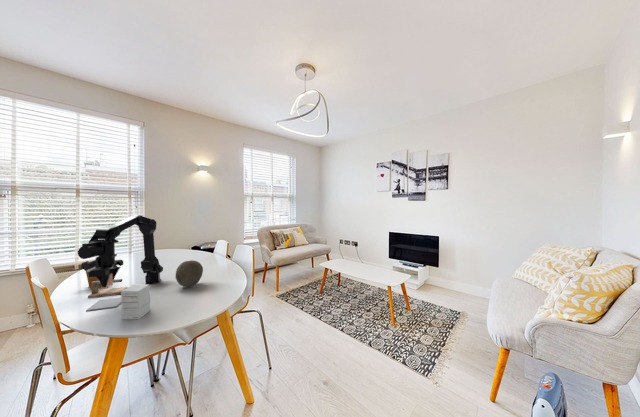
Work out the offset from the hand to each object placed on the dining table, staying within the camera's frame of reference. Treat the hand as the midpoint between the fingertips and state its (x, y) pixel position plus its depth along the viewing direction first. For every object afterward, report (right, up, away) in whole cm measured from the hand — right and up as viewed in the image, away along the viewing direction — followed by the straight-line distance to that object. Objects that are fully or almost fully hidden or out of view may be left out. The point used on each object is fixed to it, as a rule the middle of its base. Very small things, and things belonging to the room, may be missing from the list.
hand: (107, 284), depth 108 cm
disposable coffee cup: (-28, -9, +23) cm, 37 cm away
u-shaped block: (0, -1, 0) cm, 1 cm away
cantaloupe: (+26, -9, +24) cm, 37 cm away
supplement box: (+22, -11, -9) cm, 26 cm away
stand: (-12, -9, +13) cm, 20 cm away
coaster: (0, -10, 0) cm, 10 cm away
